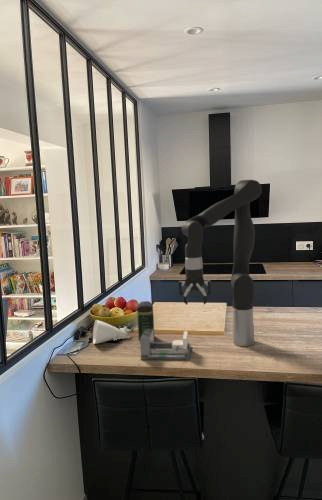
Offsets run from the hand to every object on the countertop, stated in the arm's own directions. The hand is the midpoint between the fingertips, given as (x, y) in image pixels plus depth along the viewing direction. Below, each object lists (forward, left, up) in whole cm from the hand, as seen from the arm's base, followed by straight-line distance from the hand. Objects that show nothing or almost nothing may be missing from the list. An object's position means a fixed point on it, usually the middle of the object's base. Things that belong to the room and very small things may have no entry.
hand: (195, 303), depth 163 cm
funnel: (+43, -14, -23) cm, 51 cm away
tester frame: (+14, 0, -23) cm, 27 cm away
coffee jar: (+26, -17, -23) cm, 39 cm away
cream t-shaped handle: (+8, +1, -21) cm, 23 cm away
